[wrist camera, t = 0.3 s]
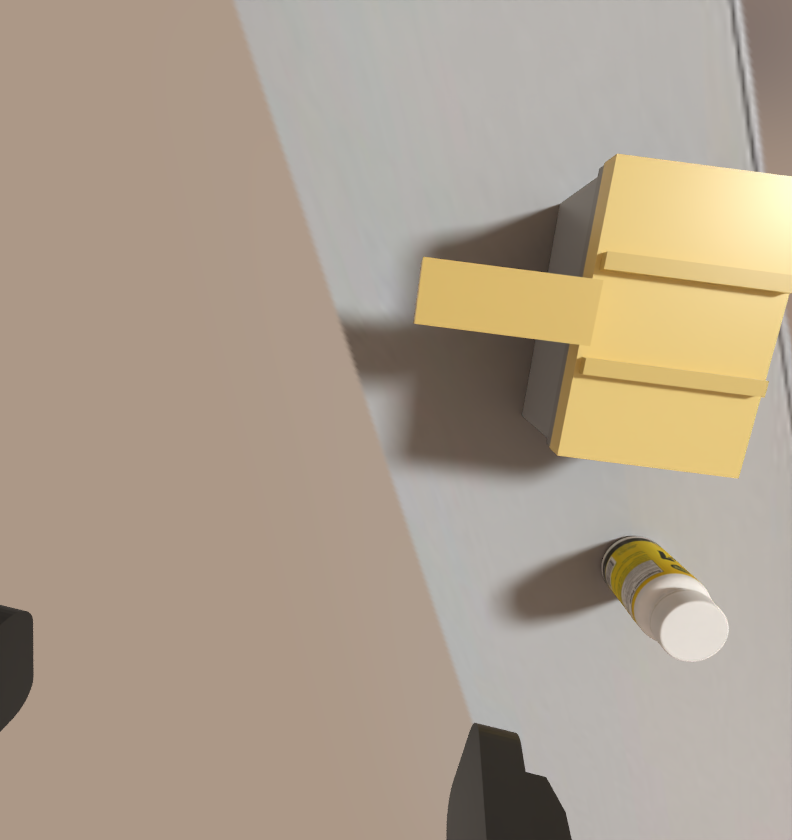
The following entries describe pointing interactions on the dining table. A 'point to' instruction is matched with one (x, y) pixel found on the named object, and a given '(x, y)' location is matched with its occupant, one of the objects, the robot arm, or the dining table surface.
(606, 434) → the lid
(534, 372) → the grey box
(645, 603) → the supplement bottle
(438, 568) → the dining table surface
